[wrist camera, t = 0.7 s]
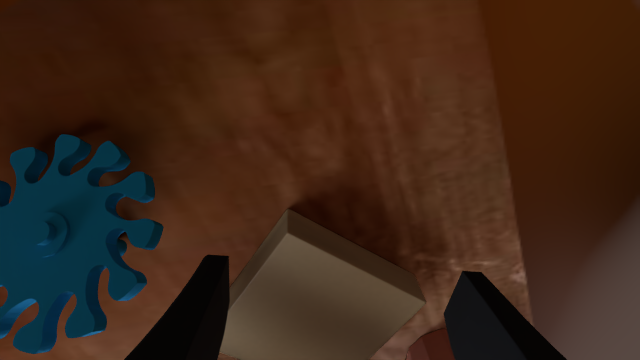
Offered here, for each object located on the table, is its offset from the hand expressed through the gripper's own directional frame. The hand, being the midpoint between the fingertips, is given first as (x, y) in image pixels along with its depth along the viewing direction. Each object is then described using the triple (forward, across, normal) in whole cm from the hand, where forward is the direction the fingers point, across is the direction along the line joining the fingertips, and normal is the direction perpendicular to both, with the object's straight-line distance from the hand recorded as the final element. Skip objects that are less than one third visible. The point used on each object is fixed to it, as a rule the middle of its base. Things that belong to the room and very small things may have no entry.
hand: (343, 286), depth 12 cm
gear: (+10, +13, +5) cm, 17 cm away
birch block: (+9, 0, +11) cm, 15 cm away
